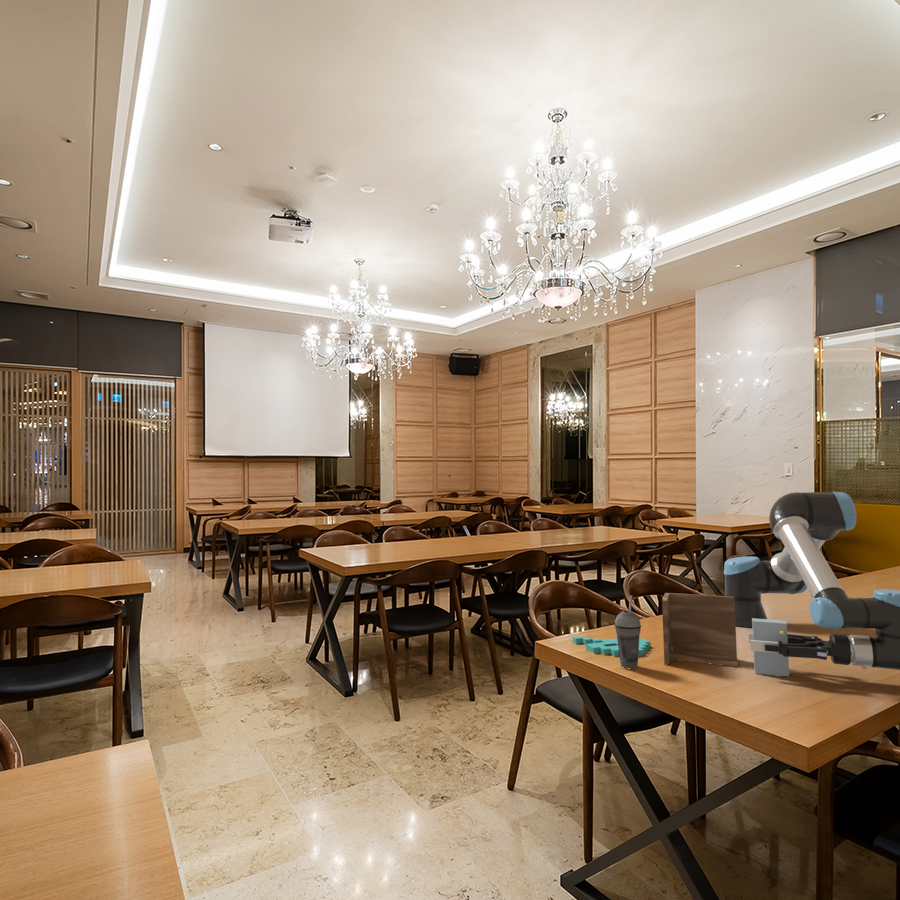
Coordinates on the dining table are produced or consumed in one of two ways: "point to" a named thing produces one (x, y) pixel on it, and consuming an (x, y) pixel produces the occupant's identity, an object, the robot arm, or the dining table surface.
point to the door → (766, 660)
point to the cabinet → (699, 628)
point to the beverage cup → (628, 637)
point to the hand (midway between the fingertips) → (749, 641)
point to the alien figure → (609, 645)
